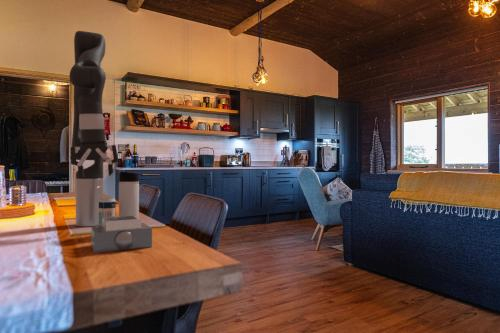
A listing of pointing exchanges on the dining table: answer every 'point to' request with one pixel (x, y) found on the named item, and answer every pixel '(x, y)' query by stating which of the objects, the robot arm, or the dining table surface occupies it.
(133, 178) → the travel mug
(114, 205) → the beer can
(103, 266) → the dining table surface
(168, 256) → the dining table surface
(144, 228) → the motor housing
